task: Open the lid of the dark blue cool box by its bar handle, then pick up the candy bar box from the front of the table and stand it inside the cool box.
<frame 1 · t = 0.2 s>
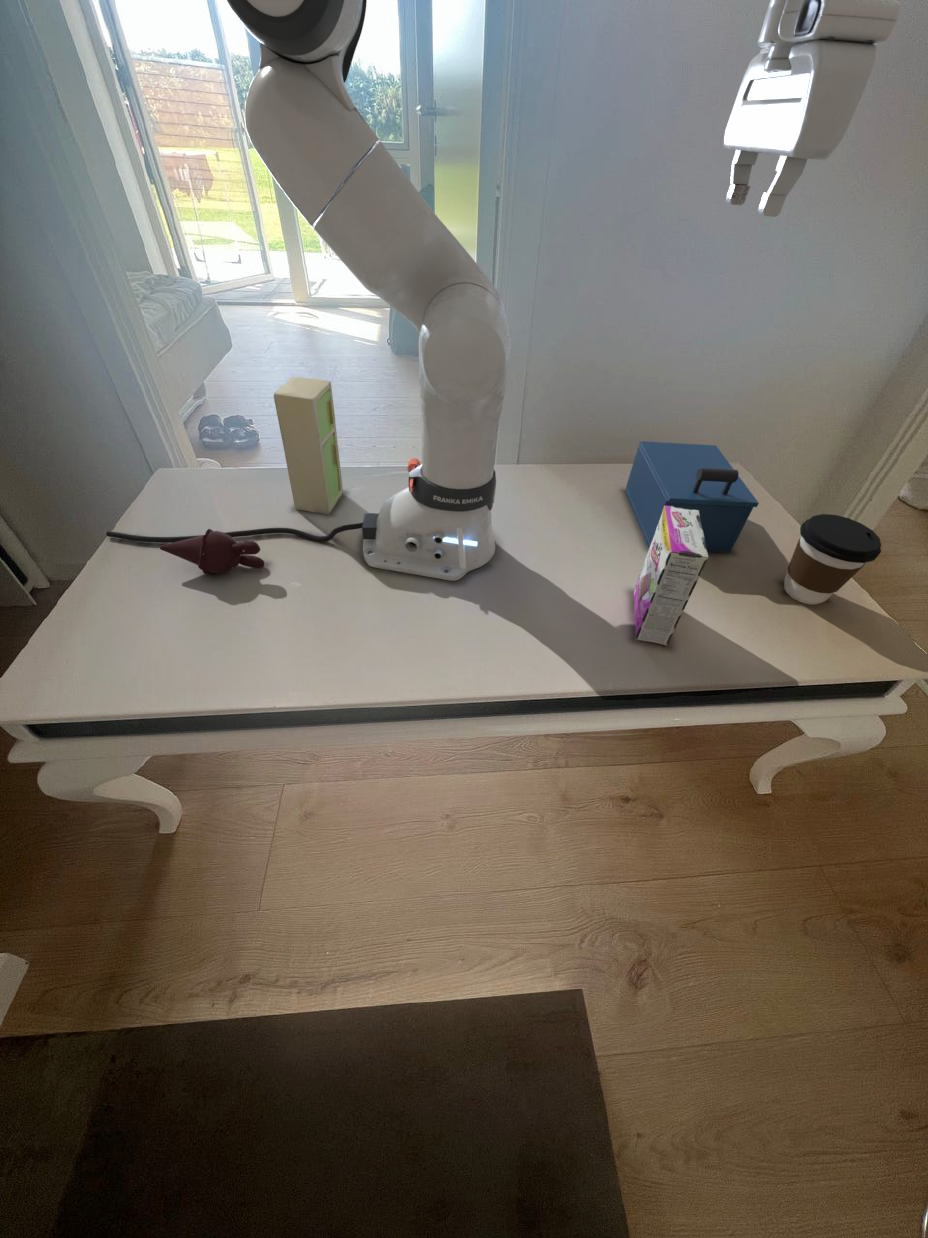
hand: (749, 209, 58), 48 cm above the table, tool pointing down, fingers open, 8 cm apart
icecream: (218, 569, 82), on the table
candy bar box: (647, 619, 80), on the table
cool box: (673, 519, 100), on the table
toy refrigerator: (322, 502, 98), on the table
coffee cup: (802, 593, 86), on the table
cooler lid: (698, 460, 91), point 12 cm above the table, hinge at 0.0°
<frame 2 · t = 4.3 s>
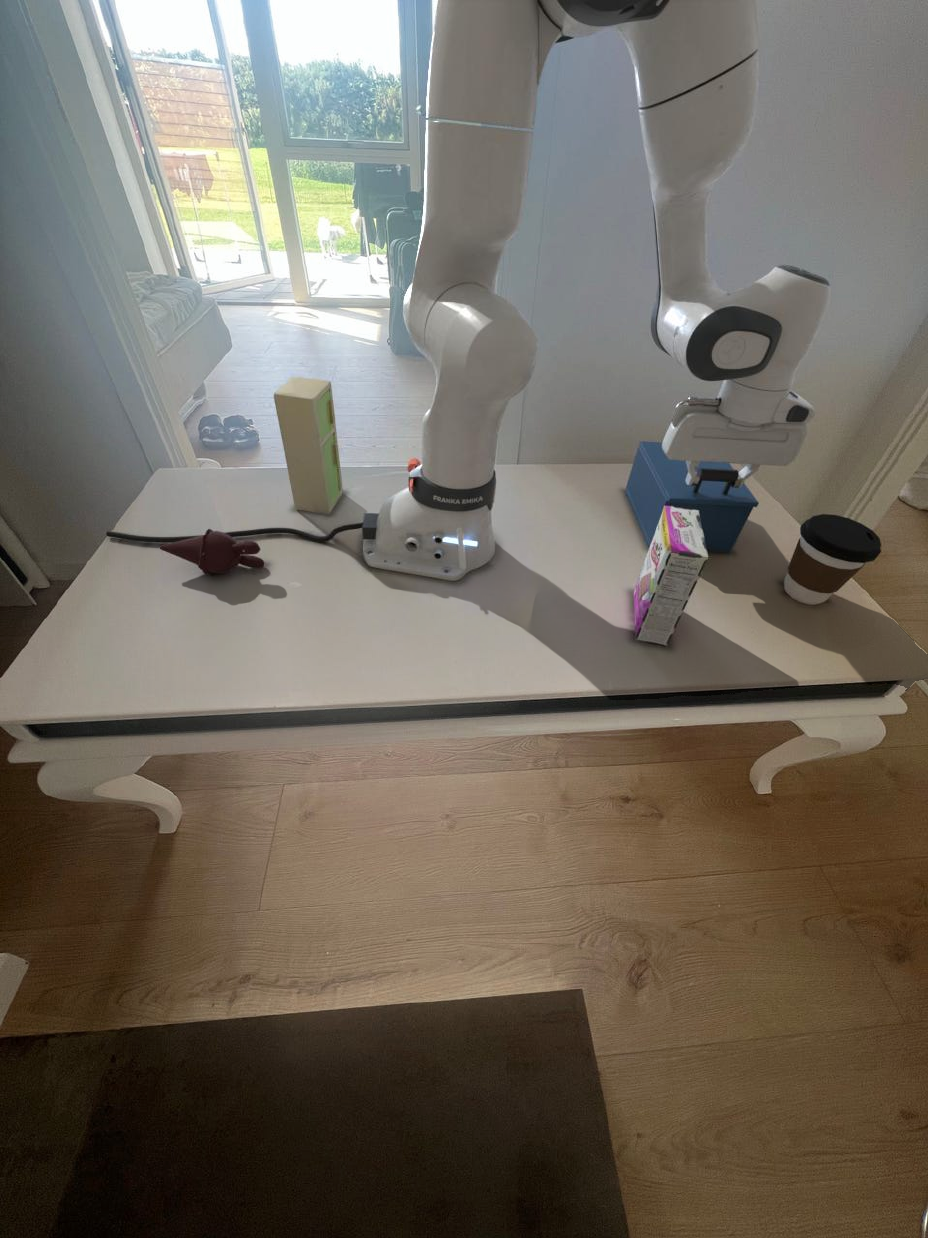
hand: (713, 485, 86), 12 cm above the table, tool pointing down, fingers closed on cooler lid, 6 cm apart
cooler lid: (698, 460, 91), point 12 cm above the table, hinge at 0.0°, touching gripper
everything else where it was.
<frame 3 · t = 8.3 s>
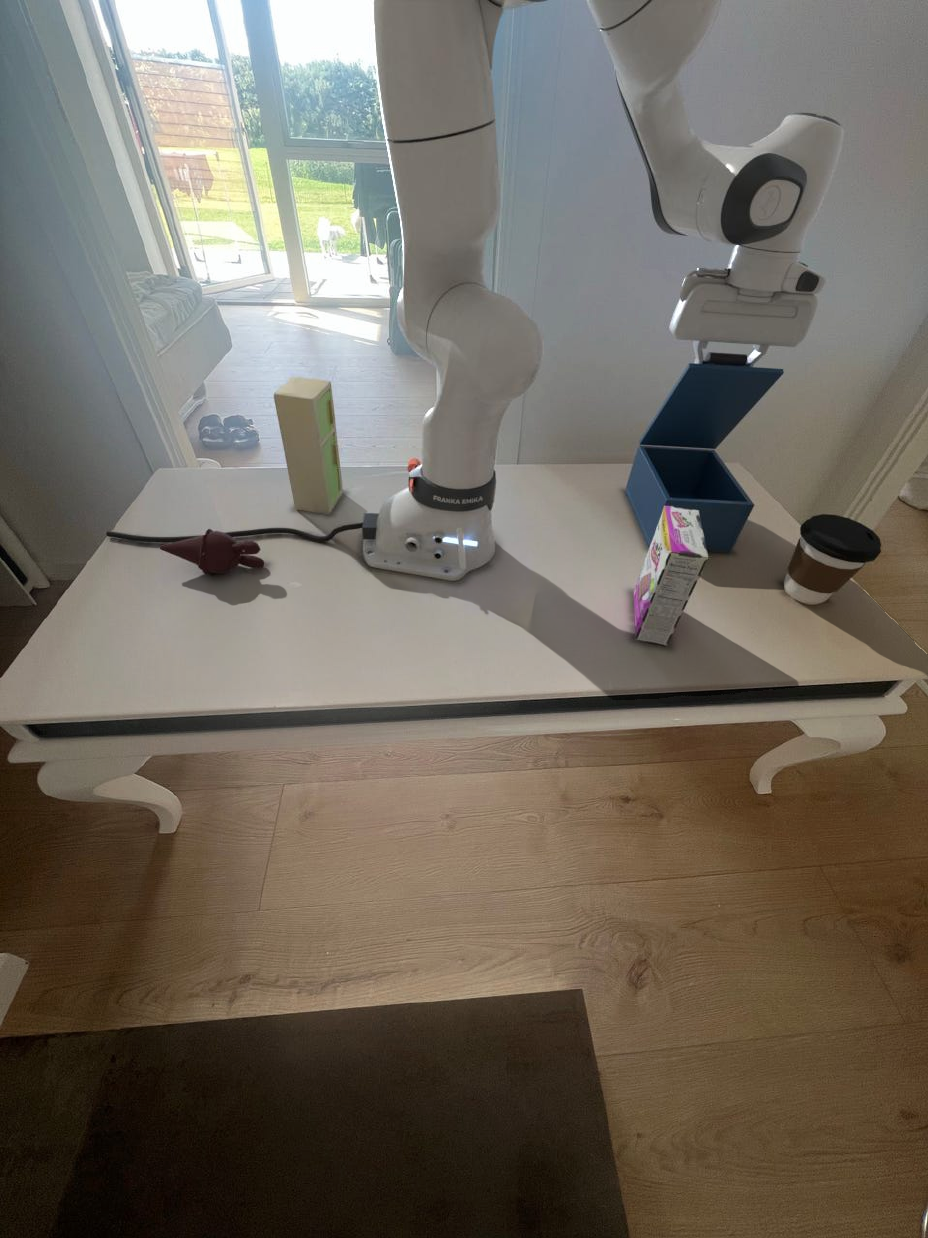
hand: (720, 371, 85), 26 cm above the table, tool pointing down, fingers closed on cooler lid, 6 cm apart
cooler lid: (702, 400, 90), point 20 cm above the table, hinge at 58.8°, touching gripper
everything else where it was.
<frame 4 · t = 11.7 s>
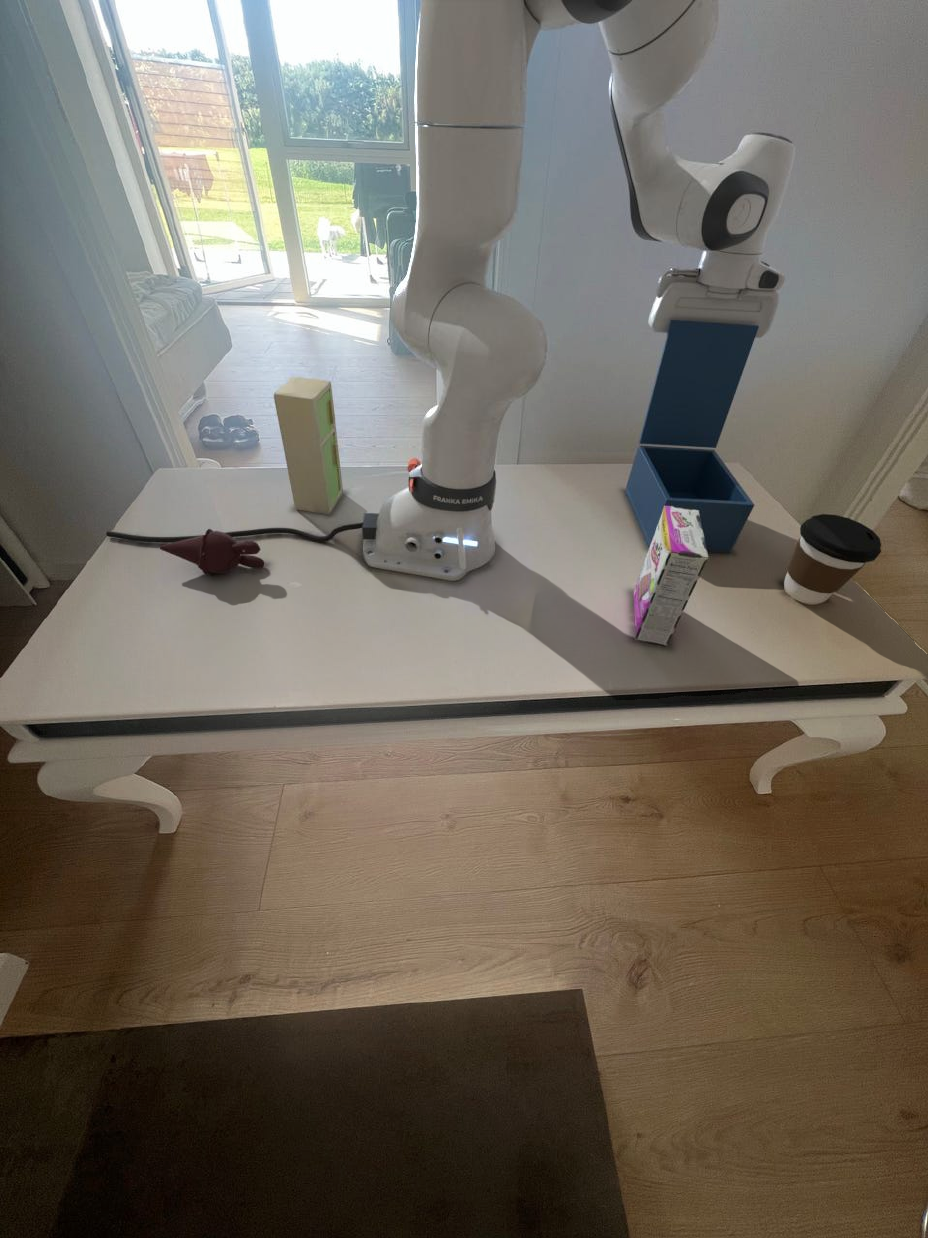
hand: (695, 360, 94), 24 cm above the table, tool pointing down, fingers open, 4 cm apart
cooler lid: (690, 385, 95), point 20 cm above the table, hinge at 96.5°, touching gripper
everything else where it was.
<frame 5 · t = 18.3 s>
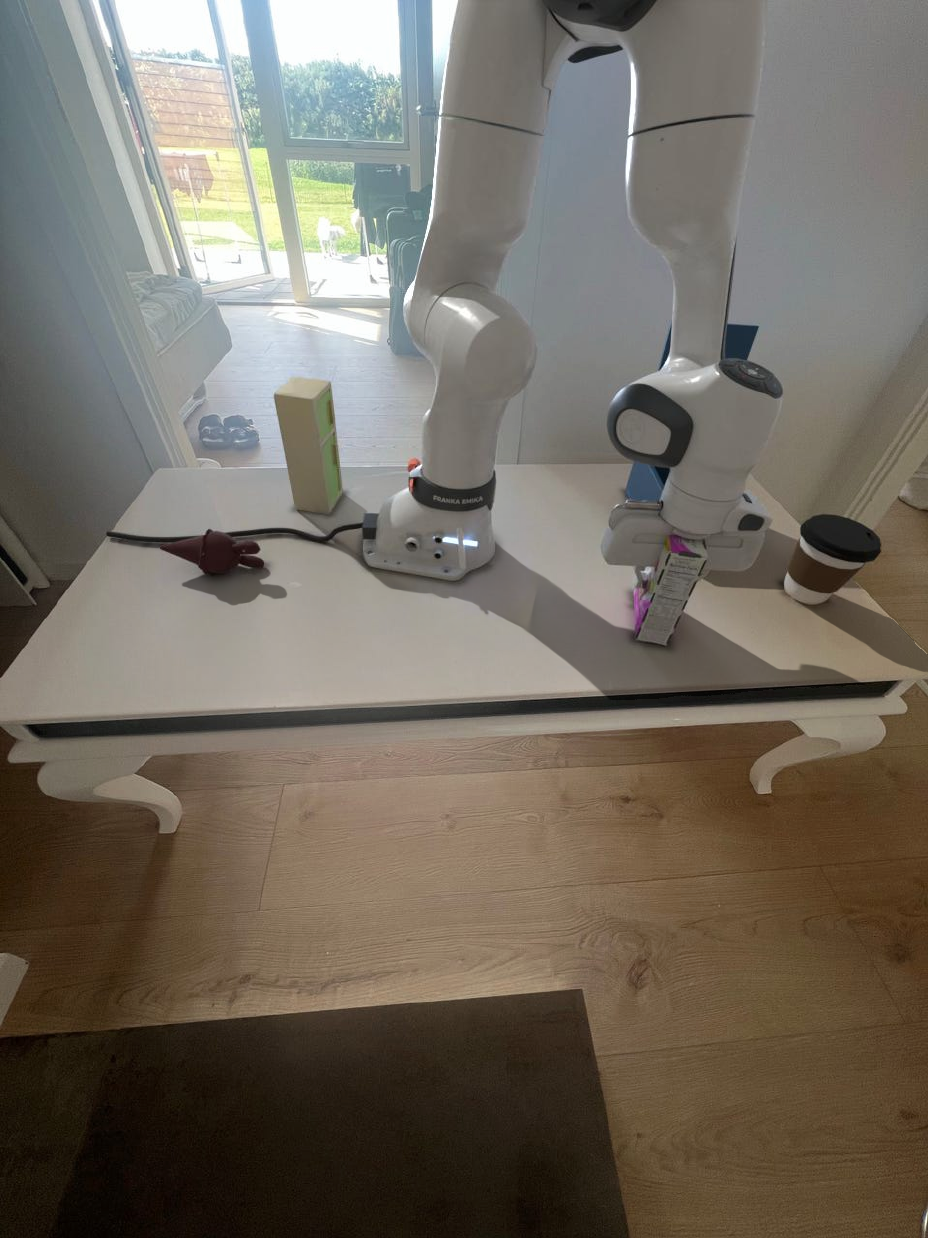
hand: (661, 586, 75), 6 cm above the table, tool pointing down, fingers closed on candy bar box, 5 cm apart
candy bar box: (647, 619, 80), on the table, touching gripper
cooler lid: (690, 385, 95), point 20 cm above the table, hinge at 96.5°
everything else where it was.
when the fingers open (7 cm above the table, at t = 28.8 s): candy bar box stays where it is, resting on cool box.
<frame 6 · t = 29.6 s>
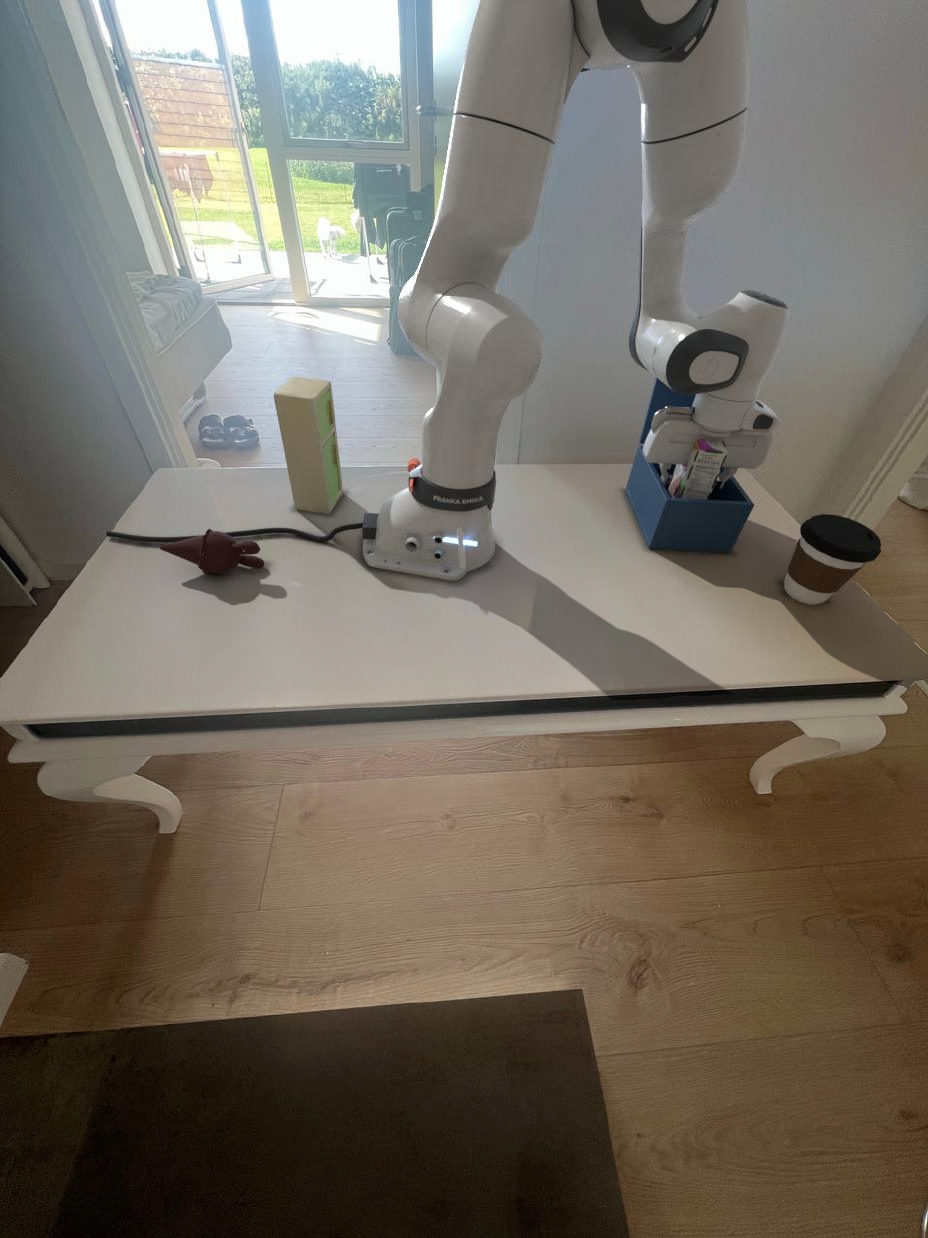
hand: (690, 485, 94), 8 cm above the table, tool pointing down, fingers open, 8 cm apart
candy bar box: (676, 519, 99), point 1 cm above the table, touching cool box
everything else where it was.
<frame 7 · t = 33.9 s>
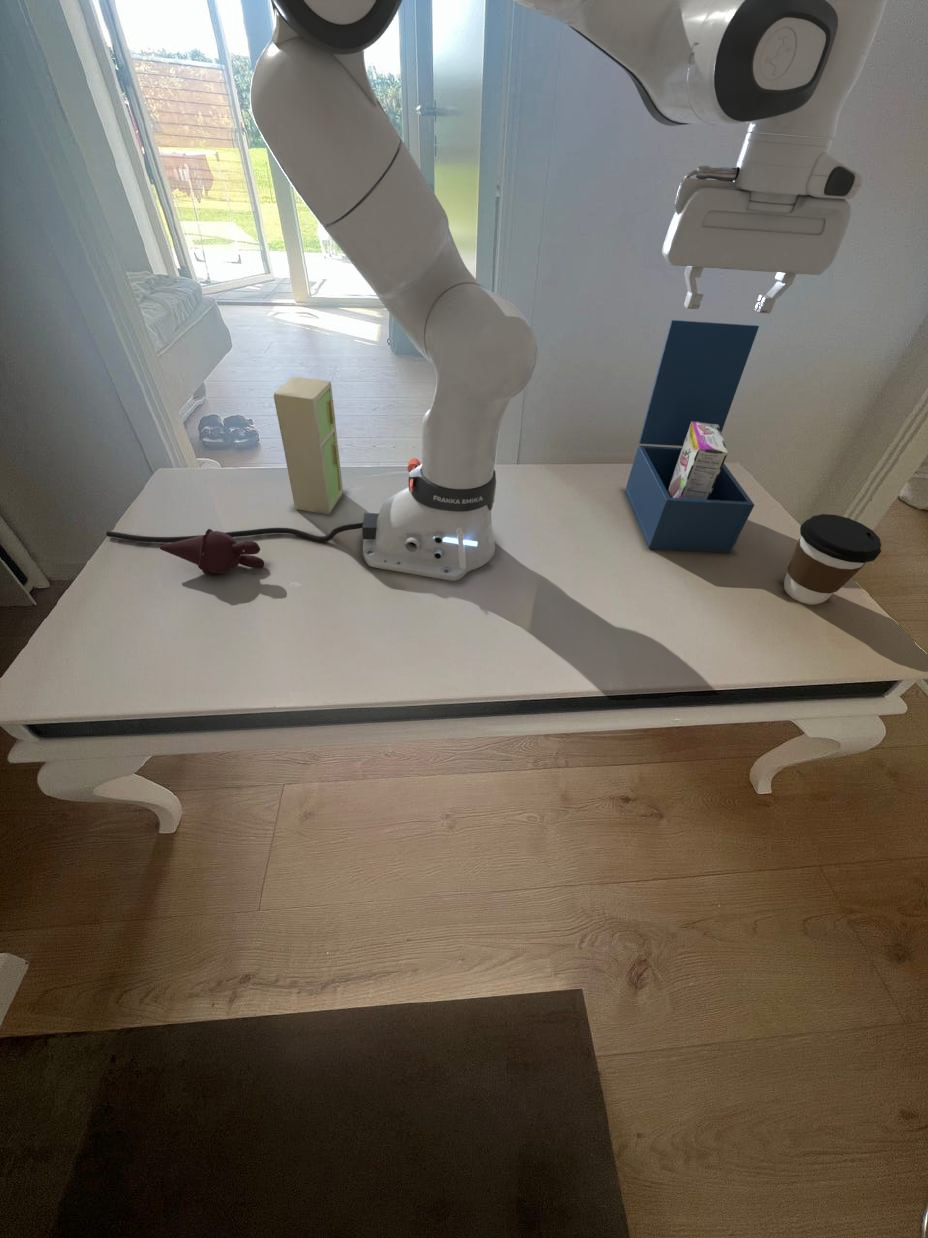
hand: (726, 309, 68), 37 cm above the table, tool pointing down, fingers open, 8 cm apart
nothing on the table moved.
at the end: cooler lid at +96° (first picture: +0°); candy bar box inside the target area in the cool box (0.9 cm from its centre), point 0.7 cm above the cool box's base; candy bar box tilted 0° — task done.
